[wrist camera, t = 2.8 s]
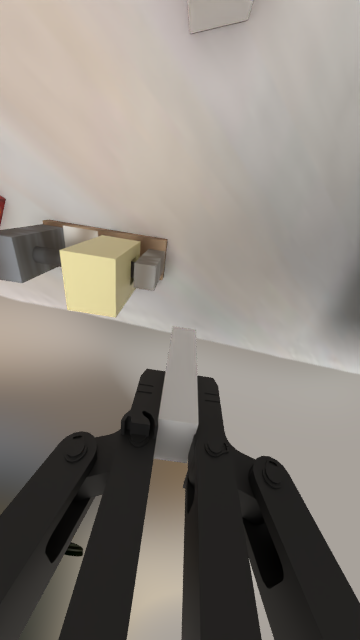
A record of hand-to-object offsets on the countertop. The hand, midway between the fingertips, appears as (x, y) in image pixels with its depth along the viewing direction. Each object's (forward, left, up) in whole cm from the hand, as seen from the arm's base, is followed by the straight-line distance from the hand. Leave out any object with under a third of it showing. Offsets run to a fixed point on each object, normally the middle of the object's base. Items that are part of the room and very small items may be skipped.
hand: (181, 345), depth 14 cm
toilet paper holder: (+13, 0, -22) cm, 26 cm away
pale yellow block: (+9, 0, -17) cm, 20 cm away
